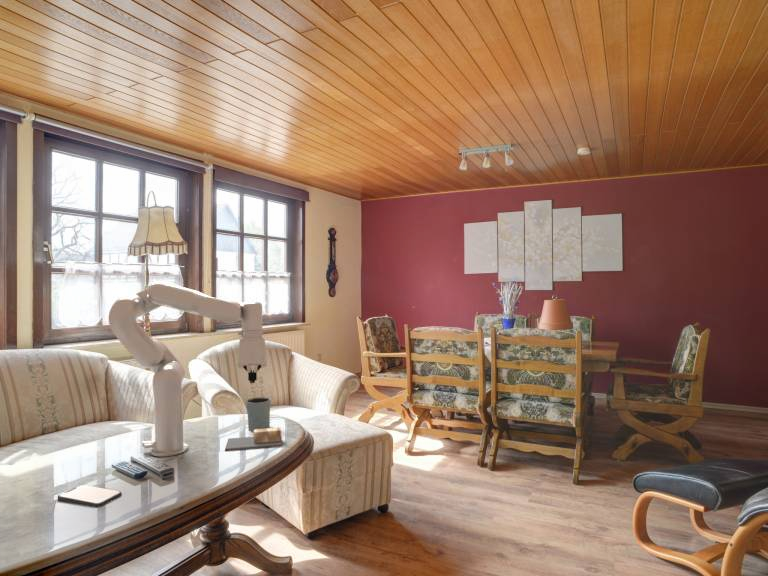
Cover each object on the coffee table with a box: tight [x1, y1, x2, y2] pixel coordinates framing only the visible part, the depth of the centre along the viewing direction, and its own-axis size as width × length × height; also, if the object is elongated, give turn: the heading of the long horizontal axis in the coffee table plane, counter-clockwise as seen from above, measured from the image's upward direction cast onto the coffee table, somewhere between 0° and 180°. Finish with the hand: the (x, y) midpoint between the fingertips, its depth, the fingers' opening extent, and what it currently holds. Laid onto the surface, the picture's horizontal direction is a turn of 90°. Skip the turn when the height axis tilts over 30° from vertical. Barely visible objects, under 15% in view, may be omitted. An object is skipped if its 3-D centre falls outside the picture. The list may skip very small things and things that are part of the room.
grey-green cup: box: [245, 396, 272, 432], centre depth 209 cm, size 10×10×12 cm
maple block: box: [253, 426, 282, 443], centre depth 191 cm, size 4×4×10 cm
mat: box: [224, 436, 282, 452], centre depth 190 cm, size 20×12×1 cm, turn 102°
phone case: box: [57, 484, 123, 508], centre depth 144 cm, size 9×2×16 cm
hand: (252, 382), depth 190 cm, fingers closed
